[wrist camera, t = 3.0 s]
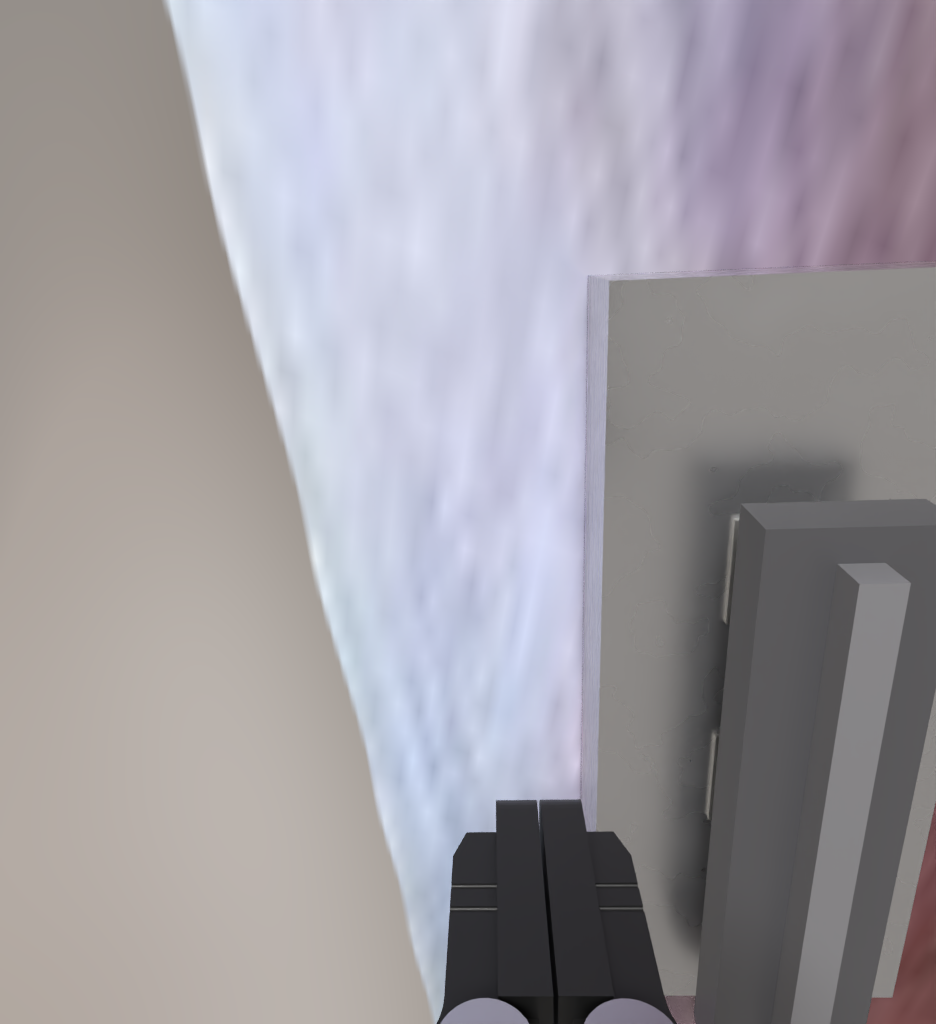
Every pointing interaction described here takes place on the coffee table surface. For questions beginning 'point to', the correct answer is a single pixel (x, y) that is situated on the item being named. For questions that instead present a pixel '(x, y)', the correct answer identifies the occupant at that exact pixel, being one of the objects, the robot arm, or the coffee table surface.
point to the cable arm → (816, 756)
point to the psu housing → (727, 528)
